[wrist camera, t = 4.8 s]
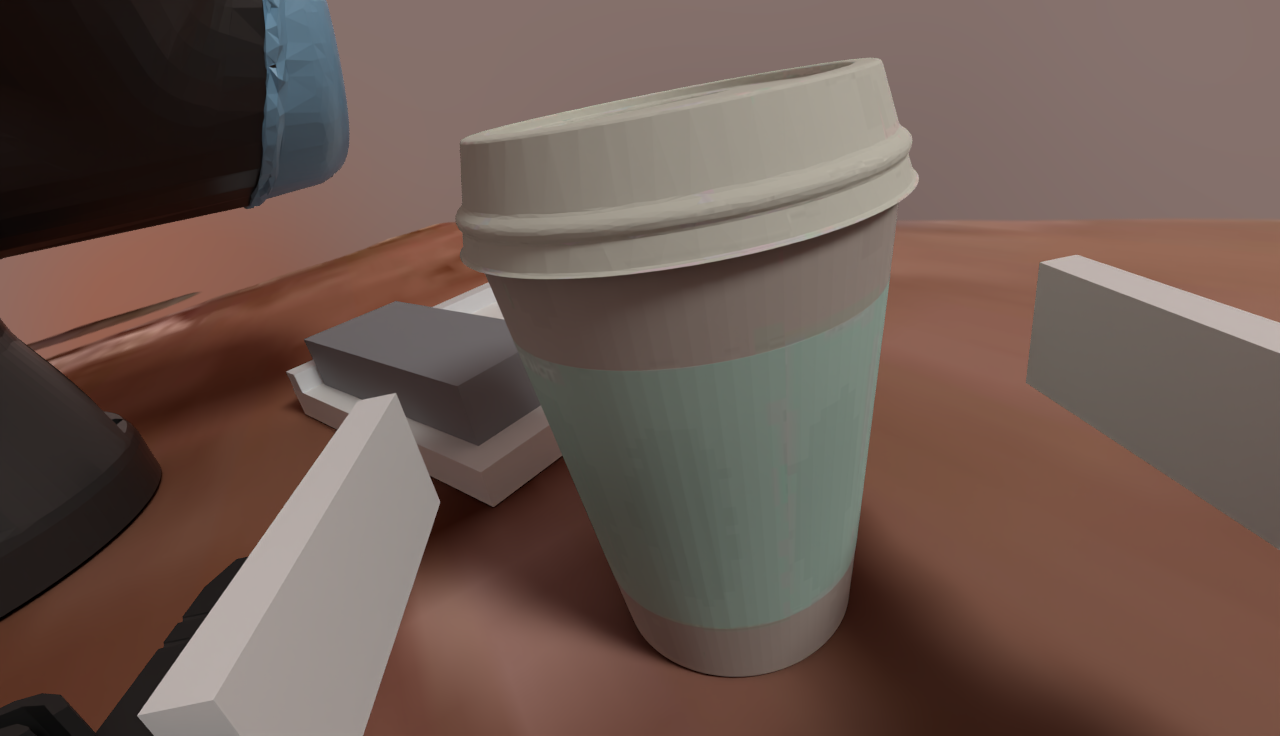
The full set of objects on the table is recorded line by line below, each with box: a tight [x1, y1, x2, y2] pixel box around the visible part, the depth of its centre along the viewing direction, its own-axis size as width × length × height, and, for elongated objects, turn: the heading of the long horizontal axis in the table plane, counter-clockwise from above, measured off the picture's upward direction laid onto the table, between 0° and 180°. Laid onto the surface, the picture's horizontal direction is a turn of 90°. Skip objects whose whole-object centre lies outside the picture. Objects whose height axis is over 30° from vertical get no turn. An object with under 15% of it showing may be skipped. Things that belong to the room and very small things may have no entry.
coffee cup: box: [456, 58, 919, 677], centre depth 14 cm, size 8×9×12 cm
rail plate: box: [286, 282, 562, 507], centre depth 34 cm, size 28×16×4 cm, turn 141°
